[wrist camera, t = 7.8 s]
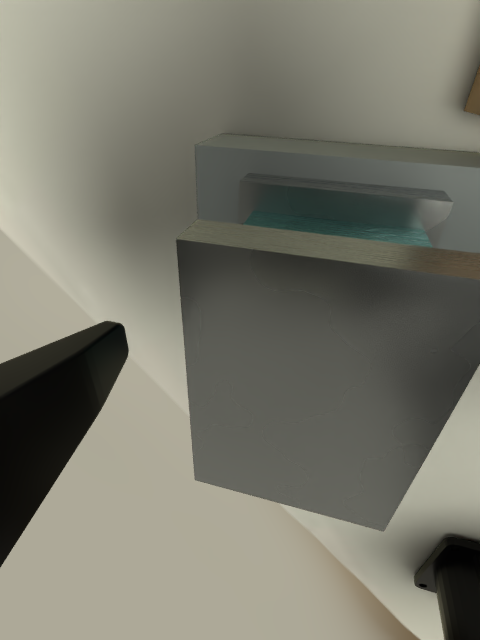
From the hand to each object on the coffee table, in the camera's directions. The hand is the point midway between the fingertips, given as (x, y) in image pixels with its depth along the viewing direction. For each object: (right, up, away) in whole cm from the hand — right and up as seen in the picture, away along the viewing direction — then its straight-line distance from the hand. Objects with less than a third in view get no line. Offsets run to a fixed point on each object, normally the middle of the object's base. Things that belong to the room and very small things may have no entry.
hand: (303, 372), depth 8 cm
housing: (+1, +2, +3) cm, 4 cm away
